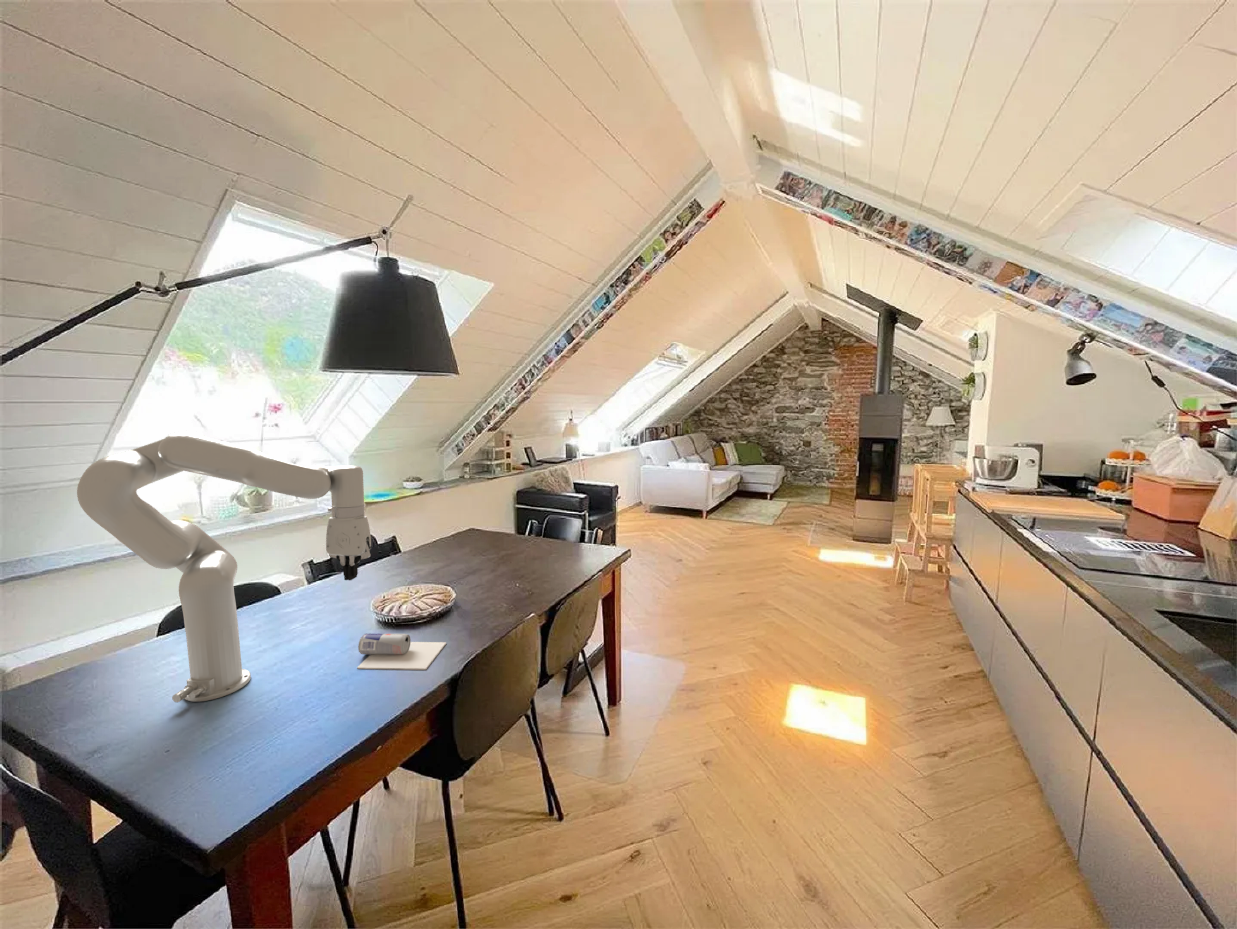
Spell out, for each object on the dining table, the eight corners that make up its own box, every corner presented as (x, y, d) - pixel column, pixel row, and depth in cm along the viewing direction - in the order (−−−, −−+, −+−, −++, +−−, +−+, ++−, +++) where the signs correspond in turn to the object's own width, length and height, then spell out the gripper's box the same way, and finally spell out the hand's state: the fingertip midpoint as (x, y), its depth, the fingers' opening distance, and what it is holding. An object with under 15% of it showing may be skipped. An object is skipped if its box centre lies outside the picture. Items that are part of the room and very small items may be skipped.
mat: (425, 669, 124) (425, 668, 124) (357, 668, 125) (357, 667, 125) (446, 643, 138) (446, 642, 138) (384, 642, 139) (384, 641, 139)
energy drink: (370, 637, 136) (412, 637, 136) (363, 657, 132) (407, 657, 132) (362, 630, 131) (406, 630, 131) (355, 650, 128) (400, 650, 128)
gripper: (311, 514, 125) (314, 582, 126) (367, 515, 124) (370, 584, 126) (330, 508, 132) (332, 573, 134) (383, 510, 131) (385, 575, 133)
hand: (350, 578), depth 130 cm, fingers closed
